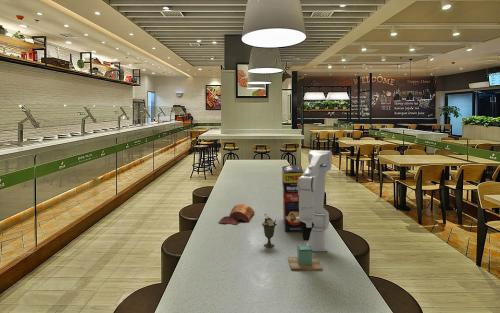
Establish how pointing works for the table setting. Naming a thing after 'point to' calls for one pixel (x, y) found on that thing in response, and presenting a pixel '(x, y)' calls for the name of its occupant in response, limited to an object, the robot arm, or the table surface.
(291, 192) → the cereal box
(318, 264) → the stand
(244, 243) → the table surface
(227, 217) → the cured meat
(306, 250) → the teal block
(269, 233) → the sundae
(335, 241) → the table surface
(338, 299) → the table surface
